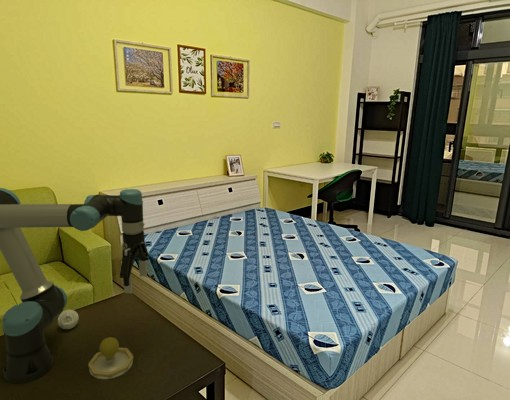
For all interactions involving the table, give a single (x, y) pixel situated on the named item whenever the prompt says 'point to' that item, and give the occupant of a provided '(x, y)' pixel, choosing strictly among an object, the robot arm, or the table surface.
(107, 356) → the light bulb
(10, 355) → the robot arm
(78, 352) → the table surface
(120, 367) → the socket base
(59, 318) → the motion sensor
